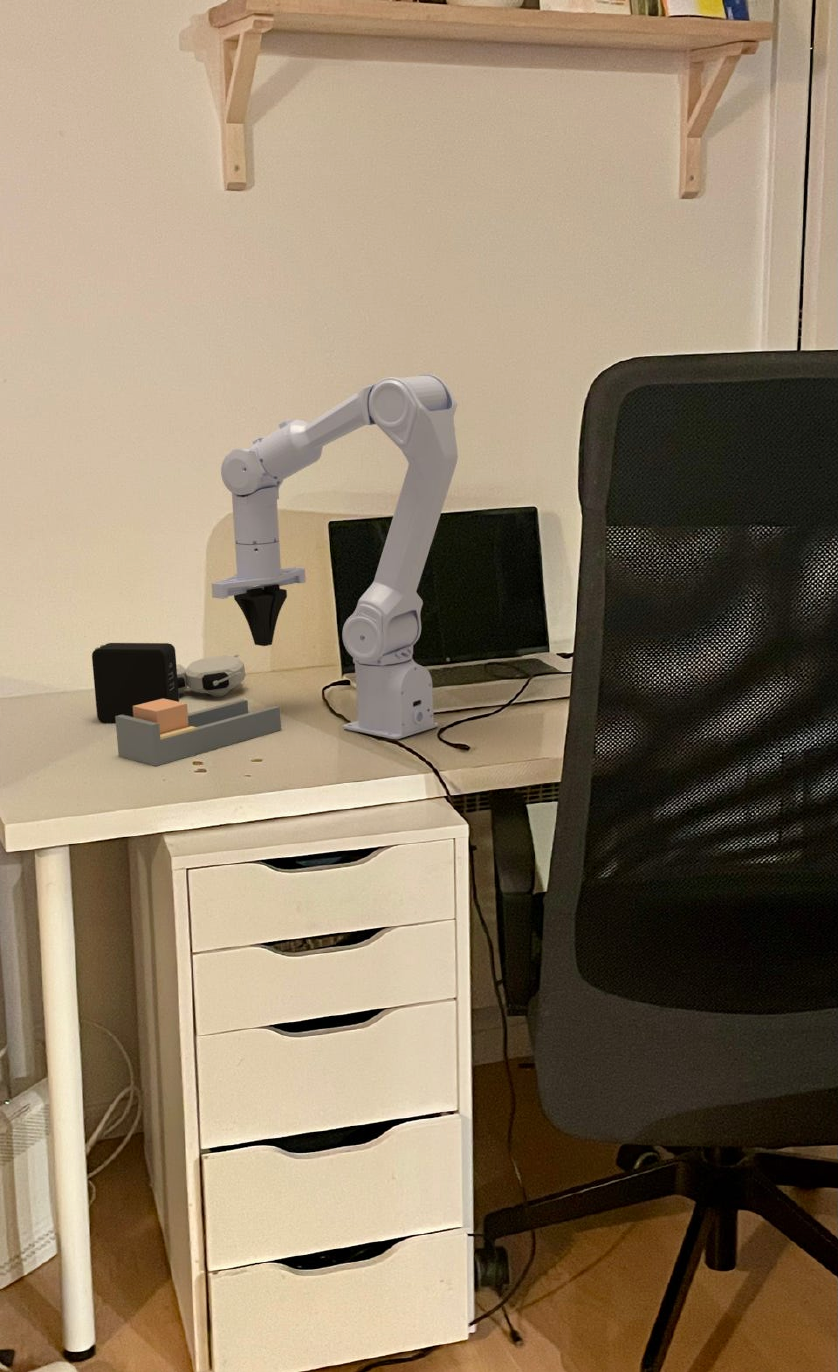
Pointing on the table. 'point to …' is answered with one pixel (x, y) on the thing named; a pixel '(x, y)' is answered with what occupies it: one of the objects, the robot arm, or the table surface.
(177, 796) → the table surface
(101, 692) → the electronic device
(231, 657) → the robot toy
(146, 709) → the block
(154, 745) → the trough
